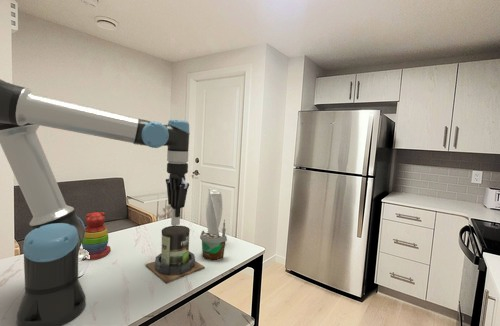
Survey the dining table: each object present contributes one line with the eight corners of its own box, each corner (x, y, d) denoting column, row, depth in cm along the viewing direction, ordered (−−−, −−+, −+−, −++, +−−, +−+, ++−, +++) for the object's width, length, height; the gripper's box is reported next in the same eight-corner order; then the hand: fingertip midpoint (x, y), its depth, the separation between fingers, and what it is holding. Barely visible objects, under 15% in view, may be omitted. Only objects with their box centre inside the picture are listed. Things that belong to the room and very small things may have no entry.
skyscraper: (214, 251, 117) (217, 189, 114) (200, 246, 121) (202, 187, 119) (225, 245, 124) (228, 187, 122) (212, 241, 128) (214, 184, 126)
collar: (167, 279, 90) (167, 271, 90) (148, 264, 100) (148, 256, 100) (201, 266, 101) (202, 259, 100) (181, 253, 111) (181, 246, 110)
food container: (193, 257, 110) (194, 234, 109) (202, 251, 115) (202, 229, 114) (218, 264, 105) (219, 240, 104) (226, 258, 110) (227, 235, 109)
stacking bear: (110, 248, 115) (110, 208, 113) (110, 257, 106) (110, 214, 104) (81, 251, 110) (81, 210, 108) (78, 262, 101) (77, 217, 99)
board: (166, 283, 89) (166, 281, 89) (145, 266, 100) (145, 264, 100) (204, 268, 101) (204, 266, 101) (182, 254, 112) (182, 252, 112)
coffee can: (192, 261, 105) (194, 226, 103) (181, 274, 95) (182, 236, 93) (169, 257, 107) (170, 223, 105) (155, 269, 97) (156, 232, 95)
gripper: (196, 164, 95) (193, 227, 97) (177, 160, 104) (175, 218, 106) (177, 164, 90) (175, 231, 92) (159, 160, 99) (157, 222, 101)
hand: (175, 224), depth 99 cm, fingers closed
